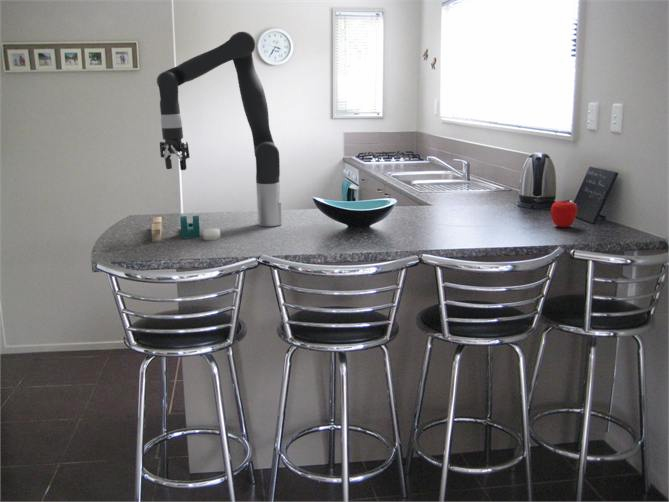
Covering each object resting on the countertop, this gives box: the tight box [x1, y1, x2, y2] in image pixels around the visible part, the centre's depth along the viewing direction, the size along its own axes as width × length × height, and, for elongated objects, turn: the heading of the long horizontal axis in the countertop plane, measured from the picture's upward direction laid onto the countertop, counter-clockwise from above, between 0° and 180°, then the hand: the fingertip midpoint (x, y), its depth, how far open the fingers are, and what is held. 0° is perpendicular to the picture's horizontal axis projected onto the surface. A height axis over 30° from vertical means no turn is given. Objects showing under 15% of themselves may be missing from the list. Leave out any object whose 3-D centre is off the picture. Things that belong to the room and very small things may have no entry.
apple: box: [550, 200, 579, 228], centre depth 258 cm, size 10×10×11 cm
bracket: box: [179, 215, 201, 239], centre depth 258 cm, size 18×7×8 cm, turn 12°
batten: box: [151, 216, 163, 243], centre depth 255 cm, size 3×24×5 cm, turn 13°
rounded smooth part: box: [202, 227, 221, 241], centre depth 248 cm, size 6×6×4 cm
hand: (176, 169), depth 254 cm, fingers open, 8 cm apart
